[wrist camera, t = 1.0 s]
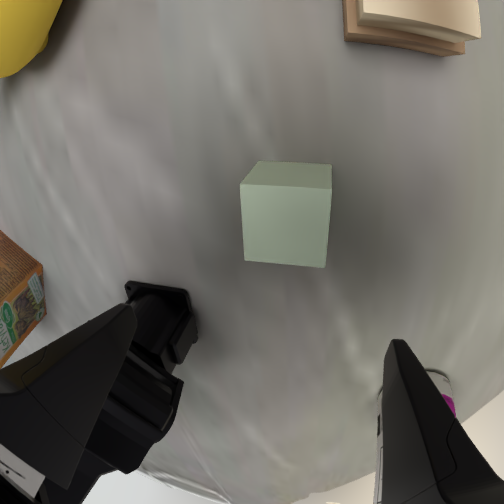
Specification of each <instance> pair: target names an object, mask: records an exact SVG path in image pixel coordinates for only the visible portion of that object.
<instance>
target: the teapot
mask: <svg viewBox="0 0 504 504" xmlns="http://www.w3.org/2000/svg"><path fill="white" fill-rule="evenodd" d="M62 1H63V0H0V78H3V77H7V76H10V75H12V74H15V73H16V72H18V71H19V70H20V69H22V68H23V67H24V66H25V65H26V64H28V63H29V62H30V61H31V60H32V59H33V58H34V57H35V56H36V55H37V53H40V52H42V51H43V50H44V49H45V47H46V45H47V42H48V36H49V35H48V32H49V30H50V28H51V26H52V23H53V21H54V19H55V17H56V15H57V12H58V10H59V8H60V5H61V3H62Z"/></svg>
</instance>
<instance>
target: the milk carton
mask: <svg viewBox="0 0 504 504" xmlns="http://www.w3.org/2000/svg"><path fill="white" fill-rule="evenodd" d="M46 314H47V313H46V305H45V295H44V284H43V270H42V264H41V263H39V262H38V261H37V260H35V259H34V258H33V257H32V256H30V255H29V254H28V253H27V252H25V251H24V250H23V249H22V248H21V247H19V246H18V245H17V244H16V243H15V242H13V241H12V240H11V239H10V238H9V237H8V236H6V235H5V234H4V233H3V232H2V231H1V230H0V369H1V368H2V366H3V365H4V364H5V363H6V361H7V360H8V359H9V358H10V356H11V355H12V354H13V353H14V351H15V350H16V349H17V348H18V347H19V345H20V344H21V343H22V342H23V341H24V339H25V338H26V337H27V336H28V335H29V334H30V332H31V331H32V330H33V329H34V328H35V327H36V325H37V324H38V323H39V322H40V321H41V320H42V319H43V318H44V316H45V315H46Z"/></svg>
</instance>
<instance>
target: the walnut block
mask: <svg viewBox="0 0 504 504" xmlns="http://www.w3.org/2000/svg"><path fill="white" fill-rule="evenodd" d="M342 5H343V22H344V41H352V42H362V43H371V44H379V45H386V46H393V47H399V48H405V49H410V50H416V51H421V52H425V53H430V54H434V55H439V56H443V57H444V56H452V55H460V54H465V42H459V43H452V42H449V41H445V40H441V39H437V38H433V37H428V36H424V35H419V34H414V33H409V32H404V31H398V30H392V29H386V28H378V27H371V26H362V25H357V17H356V2H355V0H342Z"/></svg>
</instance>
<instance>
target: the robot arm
mask: <svg viewBox="0 0 504 504" xmlns="http://www.w3.org/2000/svg"><path fill="white" fill-rule="evenodd" d="M125 290H126V293H127V296H128V298H129V299H128V300H127V301H126V303H125V304H124V303H120V304H118V305H116V306H115V307H113V308H111V309H109V310H108V311H106V312H104V313H102V314H101V315H99V316H97V317H95V318H93V319H92V320H89V321H88V322H86V323H85V324H83V325H81V326H79V327H78V328H76V329H74V330H72V331H71V332H69V333H67V334H65V335H64V336H62V337H60V338H59V339H57V340H55V341H53V342H52V343H50V344H48V346H45V347H43V348H41V349H40V350H38V351H36V352H34V353H32V354H31V355H29V356H27V357H25V358H23V359H21V360H19V361H17V362H15V363H12V364H10V365H8V366H6V367H4V368H2V369H0V504H82V502H83V501H84V499H85V498H86V496H87V495H88V493H89V492H90V490H91V489H92V487H93V486H94V485H95V483H96V482H97V480H98V479H99V477H100V476H101V475H104V474H107V473H110V472H113V471H116V470H119V471H121V472H123V473H124V474H129V473H131V472H132V471H134V470H136V469H137V468H139V466H140V464H141V463H142V461H143V459H144V457H145V456H146V454H147V452H148V451H149V449H150V448H151V447H152V445H153V444H154V443H157V442H158V441H160V440H161V439H162V438H163V437H164V436H165V435H166V434H167V432H168V431H169V430H170V428H171V426H172V424H173V422H174V420H175V416H176V413H177V408H178V404H179V400H180V396H181V392H182V388H183V384H184V382H183V381H182V380H181V379H179V378H178V379H177V378H176V377H175V376H173V375H172V372H173V370H174V368H175V366H176V364H178V365H180V364H182V363H183V361H184V359H185V357H186V355H187V353H188V351H189V349H190V347H191V345H192V343H193V344H195V343H196V342H197V340H198V337H197V328H196V323H195V319H194V314H193V313H192V311H191V306H190V302H189V297H188V294H187V292H186V291H184V290H181V289H175V288H168V287H161V286H155V285H149V284H143V283H136V282H130V281H128V282H127V283H126V284H125ZM181 295H182V296H181ZM382 426H383V471H382V496H381V504H504V481H503V480H502V479H501V478H500V477H499V476H498V475H497V474H496V473H495V472H494V471H493V469H492V468H491V467H490V465H489V464H488V462H487V461H486V460H485V458H484V457H483V456H482V454H481V453H480V452H479V451H478V449H477V448H476V446H475V445H474V444H473V442H472V441H471V439H470V438H469V437H468V435H467V434H466V432H465V430H464V429H463V427H462V426H461V424H460V423H459V421H458V419H457V418H455V415H454V413H453V412H452V410H451V408H450V407H449V405H448V404H447V402H446V401H445V399H444V397H443V396H442V394H441V393H440V391H439V390H438V388H437V387H436V385H435V384H434V382H433V381H432V379H431V378H430V376H429V375H428V373H427V372H426V370H425V369H424V367H423V366H422V364H421V363H420V362H419V360H418V359H417V357H416V356H415V354H414V353H413V352H412V350H411V349H410V347H409V346H408V344H407V343H406V342H405V341H404V340H402V339H393V340H391V342H390V345H389V347H388V350H387V352H386V355H385V358H384V374H383V392H382Z"/></svg>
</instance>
